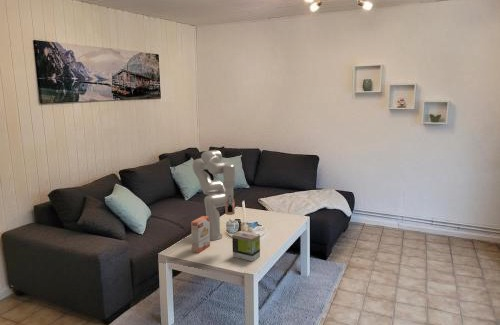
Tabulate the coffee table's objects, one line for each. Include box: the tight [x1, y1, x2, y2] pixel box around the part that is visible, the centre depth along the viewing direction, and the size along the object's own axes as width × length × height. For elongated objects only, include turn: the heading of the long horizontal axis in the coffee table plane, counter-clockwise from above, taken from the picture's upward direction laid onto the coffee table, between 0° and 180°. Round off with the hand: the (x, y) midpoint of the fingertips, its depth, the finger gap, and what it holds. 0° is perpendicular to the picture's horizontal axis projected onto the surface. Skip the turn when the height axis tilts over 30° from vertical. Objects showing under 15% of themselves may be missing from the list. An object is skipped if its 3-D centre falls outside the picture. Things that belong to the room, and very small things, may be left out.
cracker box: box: [190, 215, 211, 254], centre depth 257 cm, size 14×6×21 cm, turn 153°
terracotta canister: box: [224, 198, 236, 216], centre depth 250 cm, size 6×6×9 cm
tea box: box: [231, 230, 261, 262], centre depth 245 cm, size 15×10×15 cm
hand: (229, 210), depth 251 cm, fingers closed on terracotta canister, 6 cm apart
